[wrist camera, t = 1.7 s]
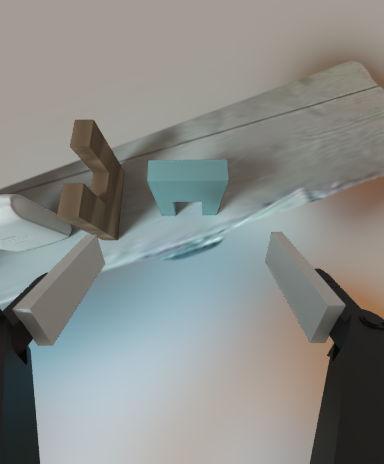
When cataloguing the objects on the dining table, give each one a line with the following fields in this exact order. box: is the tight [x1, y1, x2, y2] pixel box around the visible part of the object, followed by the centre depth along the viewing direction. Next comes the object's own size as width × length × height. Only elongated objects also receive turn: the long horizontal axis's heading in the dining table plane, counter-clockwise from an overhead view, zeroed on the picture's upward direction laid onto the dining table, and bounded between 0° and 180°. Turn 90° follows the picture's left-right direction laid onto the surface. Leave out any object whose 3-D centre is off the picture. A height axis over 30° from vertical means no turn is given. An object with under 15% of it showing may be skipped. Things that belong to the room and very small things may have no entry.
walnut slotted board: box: [57, 120, 124, 240], centre depth 29 cm, size 2×14×12 cm, turn 1°
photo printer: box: [0, 194, 72, 252], centre depth 27 cm, size 10×4×12 cm, turn 107°
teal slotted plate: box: [147, 160, 229, 216], centre depth 29 cm, size 10×3×12 cm, turn 91°
